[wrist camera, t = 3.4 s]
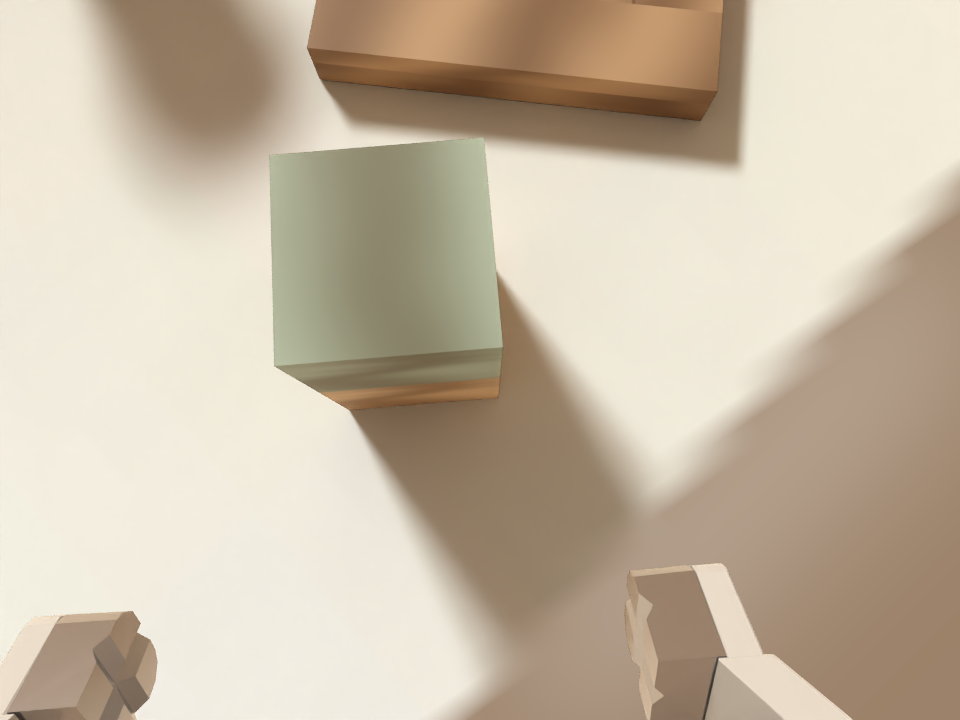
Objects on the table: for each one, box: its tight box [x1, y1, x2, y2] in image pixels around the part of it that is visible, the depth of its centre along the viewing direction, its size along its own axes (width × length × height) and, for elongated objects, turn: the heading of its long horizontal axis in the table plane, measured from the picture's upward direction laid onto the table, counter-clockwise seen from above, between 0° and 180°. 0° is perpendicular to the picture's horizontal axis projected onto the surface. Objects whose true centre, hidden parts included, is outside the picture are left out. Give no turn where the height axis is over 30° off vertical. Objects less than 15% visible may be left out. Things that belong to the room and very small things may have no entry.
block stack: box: [269, 138, 503, 410], centre depth 19 cm, size 5×5×8 cm
